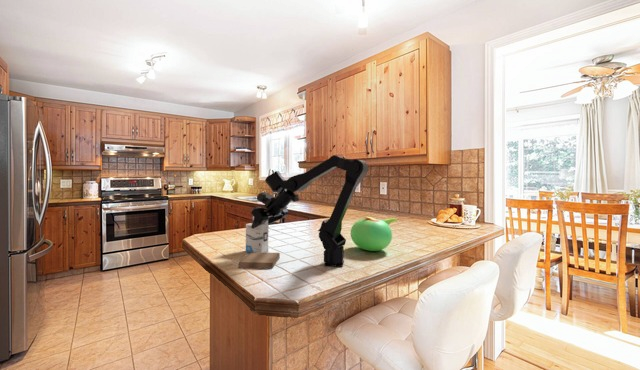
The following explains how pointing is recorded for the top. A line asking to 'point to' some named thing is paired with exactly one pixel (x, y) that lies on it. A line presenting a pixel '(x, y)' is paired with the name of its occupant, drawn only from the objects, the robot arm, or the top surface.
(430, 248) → the top surface
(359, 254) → the top surface
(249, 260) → the walnut block
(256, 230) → the ink box
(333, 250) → the robot arm
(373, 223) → the round green pot
